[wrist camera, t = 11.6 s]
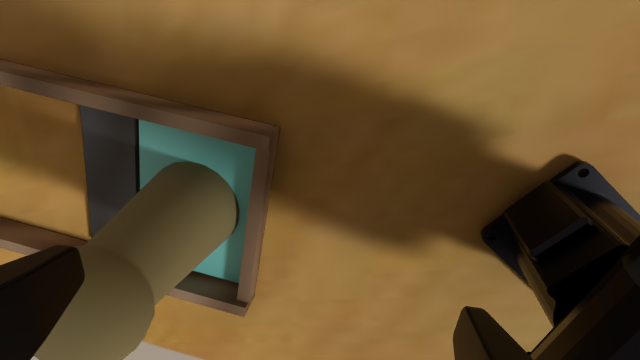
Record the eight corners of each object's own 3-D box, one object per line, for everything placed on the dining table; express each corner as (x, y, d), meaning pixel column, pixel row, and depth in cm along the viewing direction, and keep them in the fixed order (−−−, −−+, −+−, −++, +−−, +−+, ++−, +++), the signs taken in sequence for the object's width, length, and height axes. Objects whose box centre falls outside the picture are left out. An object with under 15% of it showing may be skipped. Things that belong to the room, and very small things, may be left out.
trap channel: (280, 127, 21) (269, 137, 19) (254, 296, 26) (244, 317, 24) (-129, 27, 22) (-174, 28, 21) (-75, 204, 28) (-106, 217, 26)
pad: (260, 142, 21) (258, 144, 21) (242, 280, 25) (240, 283, 25) (142, 113, 22) (138, 115, 21) (144, 252, 26) (141, 256, 26)
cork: (257, 202, 22) (153, 346, 12) (210, 261, 25) (92, 420, 15) (176, 141, 22) (-5, 242, 12) (136, 208, 24) (-41, 338, 14)
